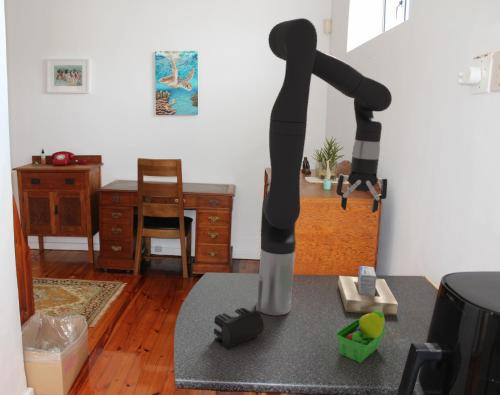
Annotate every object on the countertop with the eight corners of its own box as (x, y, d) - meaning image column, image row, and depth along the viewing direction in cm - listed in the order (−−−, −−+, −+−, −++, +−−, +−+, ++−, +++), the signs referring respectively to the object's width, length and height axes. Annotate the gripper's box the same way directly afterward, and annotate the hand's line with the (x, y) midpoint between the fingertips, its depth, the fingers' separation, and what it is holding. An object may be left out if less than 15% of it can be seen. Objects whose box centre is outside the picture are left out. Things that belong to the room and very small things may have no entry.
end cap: (229, 354, 102) (231, 326, 101) (211, 340, 108) (213, 314, 106) (263, 341, 108) (265, 315, 107) (244, 329, 114) (246, 304, 112)
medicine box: (373, 304, 131) (377, 276, 129) (357, 302, 132) (361, 274, 130) (371, 293, 139) (374, 266, 137) (356, 292, 139) (359, 265, 137)
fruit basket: (355, 336, 113) (360, 294, 111) (389, 350, 108) (395, 306, 105) (332, 354, 105) (337, 308, 102) (368, 370, 99) (374, 322, 97)
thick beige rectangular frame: (345, 311, 127) (346, 299, 126) (338, 286, 144) (339, 275, 144) (396, 315, 126) (398, 304, 125) (382, 289, 144) (384, 279, 143)
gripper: (342, 156, 129) (335, 211, 132) (393, 160, 127) (385, 216, 131) (339, 153, 136) (333, 206, 139) (387, 157, 135) (380, 210, 138)
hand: (358, 210), depth 135 cm, fingers open, 8 cm apart
